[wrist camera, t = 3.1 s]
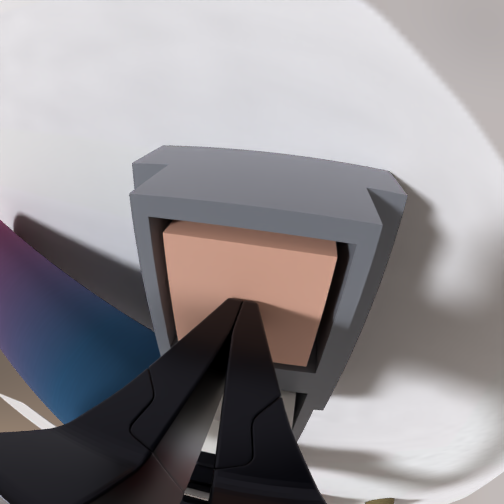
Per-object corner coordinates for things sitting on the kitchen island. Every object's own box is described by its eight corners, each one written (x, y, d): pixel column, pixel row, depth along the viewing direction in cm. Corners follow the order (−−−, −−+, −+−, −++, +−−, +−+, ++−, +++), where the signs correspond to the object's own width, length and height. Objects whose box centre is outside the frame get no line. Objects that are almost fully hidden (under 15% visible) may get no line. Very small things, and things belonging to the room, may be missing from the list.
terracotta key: (309, 324, 11) (306, 366, 10) (196, 306, 12) (178, 343, 10) (332, 220, 9) (337, 257, 7) (189, 201, 9) (162, 232, 8)
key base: (324, 376, 18) (320, 448, 13) (184, 353, 19) (158, 417, 14) (389, 171, 10) (434, 234, 6) (163, 145, 12) (88, 190, 7)
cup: (-14, 179, 12) (170, 331, 10) (29, 235, 18) (185, 356, 16) (-76, 264, 9) (81, 471, 7) (-20, 304, 15) (127, 448, 13)
